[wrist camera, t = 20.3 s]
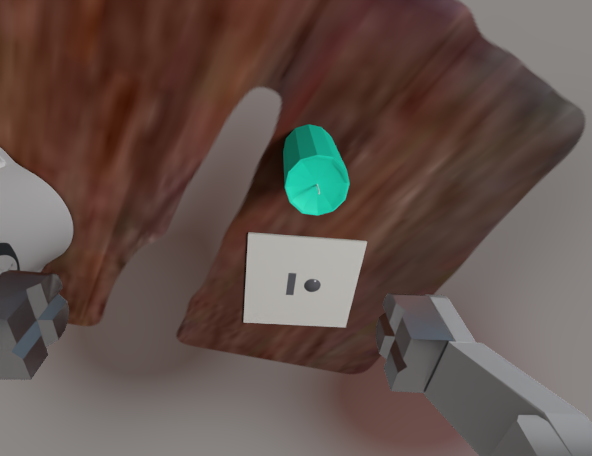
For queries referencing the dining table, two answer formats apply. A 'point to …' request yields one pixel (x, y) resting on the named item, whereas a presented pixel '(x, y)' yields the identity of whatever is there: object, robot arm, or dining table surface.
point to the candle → (314, 171)
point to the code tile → (301, 279)
